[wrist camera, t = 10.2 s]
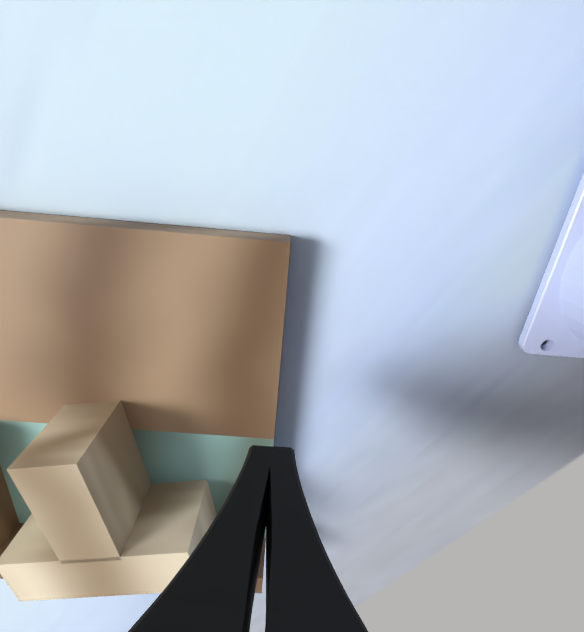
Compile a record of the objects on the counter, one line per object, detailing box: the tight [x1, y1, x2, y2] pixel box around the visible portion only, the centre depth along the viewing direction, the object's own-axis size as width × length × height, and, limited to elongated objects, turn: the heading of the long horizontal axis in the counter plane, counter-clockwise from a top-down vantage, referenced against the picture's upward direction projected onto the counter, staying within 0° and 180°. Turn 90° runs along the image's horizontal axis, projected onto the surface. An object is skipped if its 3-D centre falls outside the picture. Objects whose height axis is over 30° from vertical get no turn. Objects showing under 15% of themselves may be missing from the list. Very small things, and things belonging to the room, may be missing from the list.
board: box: [0, 210, 291, 593], centre depth 16 cm, size 14×17×3 cm
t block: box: [0, 400, 217, 601], centre depth 16 cm, size 8×8×4 cm
